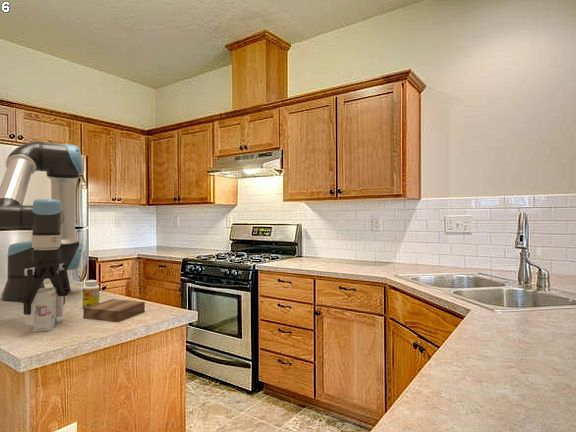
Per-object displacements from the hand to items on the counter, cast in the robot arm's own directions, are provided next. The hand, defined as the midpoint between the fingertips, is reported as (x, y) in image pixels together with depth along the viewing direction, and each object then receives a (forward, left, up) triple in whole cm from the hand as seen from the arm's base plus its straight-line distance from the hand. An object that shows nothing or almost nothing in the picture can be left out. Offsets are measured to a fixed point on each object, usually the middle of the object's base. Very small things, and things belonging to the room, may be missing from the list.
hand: (45, 320), depth 117 cm
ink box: (0, 0, -3) cm, 2 cm away
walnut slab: (+10, +19, -3) cm, 22 cm away
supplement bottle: (-5, +24, -3) cm, 25 cm away
